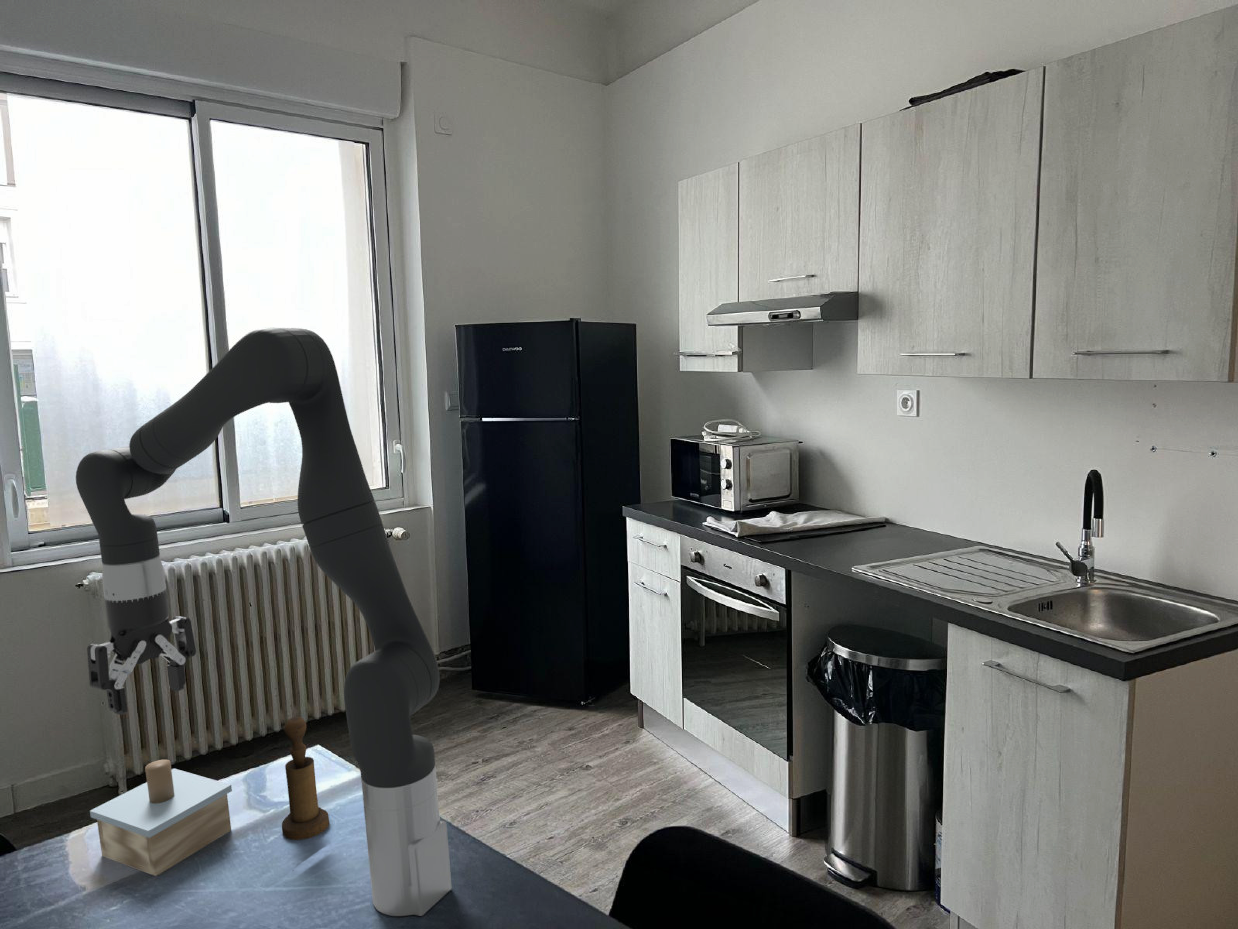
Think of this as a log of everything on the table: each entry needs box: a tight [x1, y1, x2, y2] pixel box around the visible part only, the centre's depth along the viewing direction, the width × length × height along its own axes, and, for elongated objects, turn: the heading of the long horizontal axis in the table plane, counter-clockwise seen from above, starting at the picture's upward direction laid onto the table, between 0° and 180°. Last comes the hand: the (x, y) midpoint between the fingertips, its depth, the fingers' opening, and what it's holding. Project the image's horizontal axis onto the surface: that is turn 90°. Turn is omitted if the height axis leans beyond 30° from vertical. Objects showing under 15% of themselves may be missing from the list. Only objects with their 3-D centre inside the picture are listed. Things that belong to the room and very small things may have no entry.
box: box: [96, 794, 232, 877], centre depth 124 cm, size 12×12×7 cm
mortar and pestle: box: [281, 716, 330, 841], centre depth 125 cm, size 7×6×18 cm
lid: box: [89, 759, 233, 838], centre depth 123 cm, size 13×13×6 cm
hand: (149, 701), depth 121 cm, fingers open, 8 cm apart
